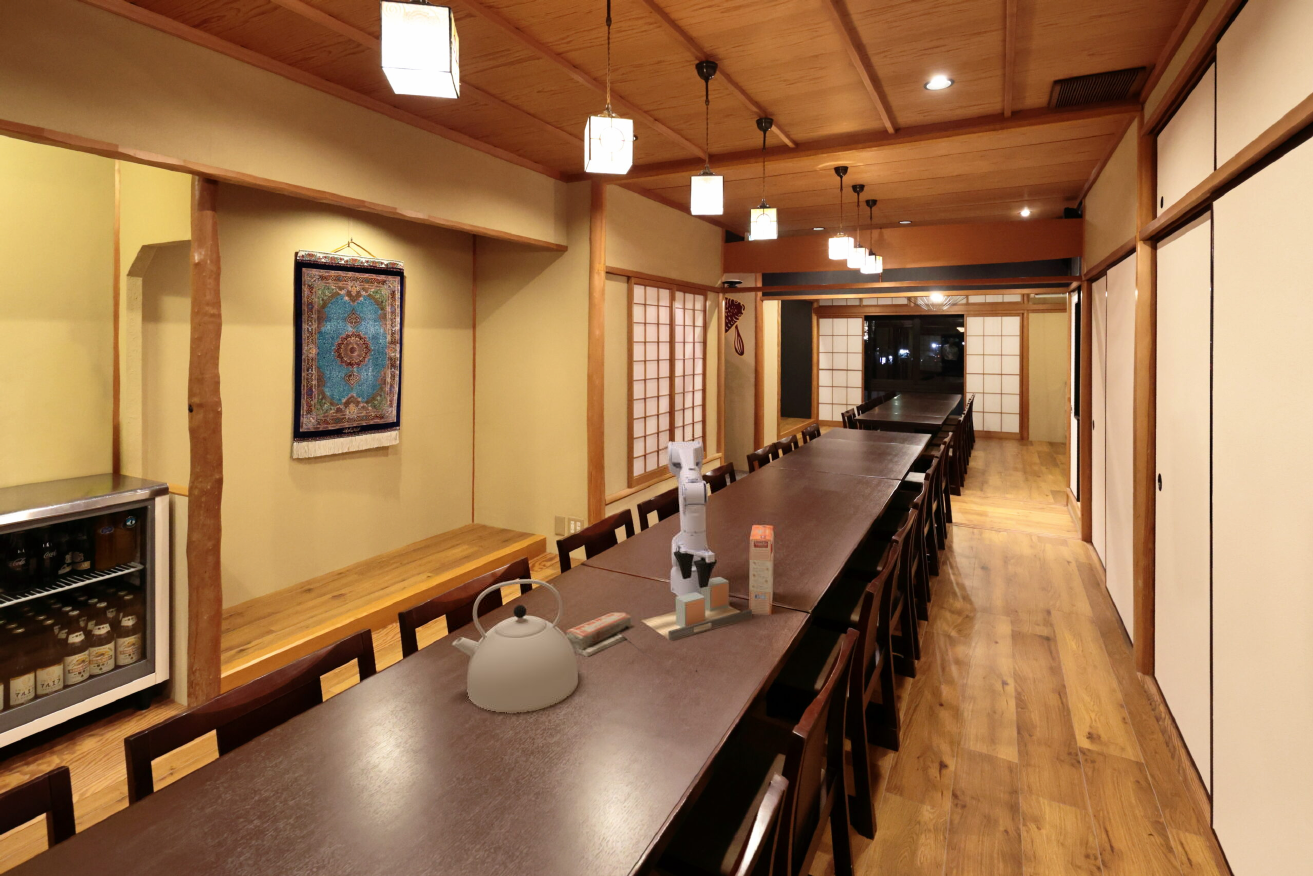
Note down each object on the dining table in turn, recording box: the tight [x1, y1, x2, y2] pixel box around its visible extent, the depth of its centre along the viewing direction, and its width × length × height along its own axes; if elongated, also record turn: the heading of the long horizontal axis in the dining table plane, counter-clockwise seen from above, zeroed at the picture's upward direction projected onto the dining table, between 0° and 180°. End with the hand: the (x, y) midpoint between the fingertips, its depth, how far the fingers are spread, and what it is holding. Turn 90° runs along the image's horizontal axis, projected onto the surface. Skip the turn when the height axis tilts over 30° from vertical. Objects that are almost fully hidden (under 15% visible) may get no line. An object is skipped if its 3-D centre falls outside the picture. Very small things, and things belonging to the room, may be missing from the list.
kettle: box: [451, 578, 579, 714], centre depth 138 cm, size 25×23×23 cm
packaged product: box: [565, 611, 632, 658], centre depth 161 cm, size 18×5×10 cm
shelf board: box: [641, 605, 753, 641], centre depth 168 cm, size 14×24×3 cm, turn 121°
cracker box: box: [748, 524, 775, 616], centre depth 176 cm, size 14×6×21 cm, turn 168°
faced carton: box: [701, 576, 730, 612], centre depth 175 cm, size 4×6×7 cm
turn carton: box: [675, 592, 705, 628], centre depth 165 cm, size 4×6×7 cm
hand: (695, 582), depth 169 cm, fingers open, 7 cm apart
